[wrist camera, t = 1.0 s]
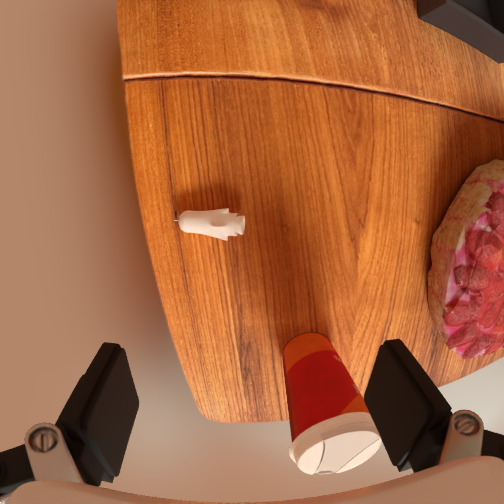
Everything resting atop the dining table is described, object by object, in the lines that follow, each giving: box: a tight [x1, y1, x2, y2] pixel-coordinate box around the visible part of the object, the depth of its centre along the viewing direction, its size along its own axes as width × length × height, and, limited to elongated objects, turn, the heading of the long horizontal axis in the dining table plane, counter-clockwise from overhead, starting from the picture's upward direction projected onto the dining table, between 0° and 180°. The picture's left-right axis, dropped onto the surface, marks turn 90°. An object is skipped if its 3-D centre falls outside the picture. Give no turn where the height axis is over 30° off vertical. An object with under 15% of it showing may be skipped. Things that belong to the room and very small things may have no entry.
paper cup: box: [283, 333, 381, 475], centre depth 25 cm, size 8×8×14 cm
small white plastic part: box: [173, 208, 245, 240], centre depth 25 cm, size 4×6×3 cm, turn 63°
